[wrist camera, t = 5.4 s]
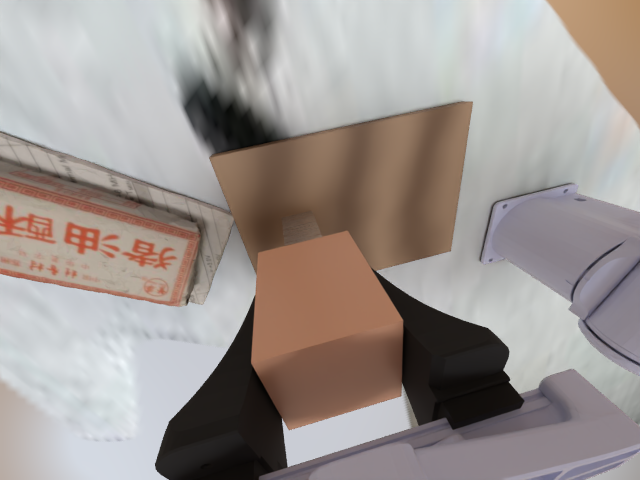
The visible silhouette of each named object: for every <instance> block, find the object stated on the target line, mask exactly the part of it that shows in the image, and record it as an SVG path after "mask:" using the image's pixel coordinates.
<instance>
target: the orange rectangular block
mask: <svg viewBox="0 0 640 480" xmlns="http://www.w3.org/2000/svg"><path fill="white" fill-rule="evenodd" d="M402 353H403V319H402V318H401V316H400V314H399V313H398V311H397V309H396V308H395V306H394V305H393V303H392V301H391V300H390V298H389V297H388V295H387V293H386V292H385V290H384V288H383V287H382V285H381V284H380V282H379V280H378V279H377V277H376V276H375V274H374V272H373V271H372V269H371V267H370V266H369V264H368V263H367V261H366V259H365V258H364V256H363V255H362V253H361V251H360V250H359V248H358V247H357V245H356V243H355V242H354V240H353V238H352V237H351V235H350V234H349V232H348V231H344V232H340V233H336V234H332V235H328V236H323V237H319V238H315V239H311V240H307V241H303V242H299V243H295V244H291V245H287V246H283V247H279V248H275V249H271V250H267V251H263V252H259V253H258V263H257V279H256V295H255V310H254V326H253V341H252V357H251V364H252V366H253V367H254V369H255V371H256V373H257V375H258V376H259V378H260V380H261V382H262V383H263V385H264V387H265V389H266V390H267V392H268V394H269V396H270V398H271V399H272V401H273V403H274V405H275V406H276V408H277V410H278V412H279V413H280V415H281V417H282V419H283V421H284V422H285V424H286V426H287V428H288V429H289V430H292V429H295V428H298V427H302V426H305V425H308V424H312V423H315V422H318V421H321V420H324V419H328V418H331V417H335V416H338V415H341V414H344V413H347V412H351V411H354V410H357V409H361V408H364V407H367V406H370V405H374V404H377V403H380V402H384V401H387V400H390V399H394V398H397V397H400V396H401V392H402Z"/></svg>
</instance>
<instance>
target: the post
mask: <svg viewBox="0 0 640 480" xmlns="http://www.w3.org/2000/svg"><path fill="white" fill-rule="evenodd" d="M282 225H283V234H284V243H285V246H287V245H291V244H295V243H299V242H303V241H307V240H311V239H315V238H319V237H322V235H321V232H320V230H319V227H318V225H317V222H316V220H315V217H314V215H313V212H312V211H308V212H304V213H300V214H295V215H291V216H287V217H283V218H282Z"/></svg>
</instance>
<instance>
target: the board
mask: <svg viewBox="0 0 640 480" xmlns="http://www.w3.org/2000/svg"><path fill="white" fill-rule="evenodd" d="M472 105H473V102H458V103H453V104H448V105H444V106H439V107H434V108H430V109H425V110H420V111H415V112H411V113H406V114H401V115H397V116H392V117H387V118H383V119H378V120H373V121H368V122H364V123H359V124H354V125H350V126H345V127H340V128H335V129H331V130H326V131H321V132H317V133H312V134H307V135H303V136H298V137H293V138H288V139H284V140H279V141H274V142H270V143H265V144H260V145H255V146H251V147H246V148H241V149H237V150H232V151H227V152H223V153H218V154H213V155H212V156H211V157H210V158H209V159H210V161H211V164H212V166H213V169H214V171H215V173H216V176H217V178H218V181H219V183H220V186H221V188H222V191H223V193H224V196H225V198H226V201H227V203H228V206H229V208H230V211H231V213H232V216H233V218H234V220H235V223H236V225H237V228H238V230H239V233H240V235H241V238H242V240H243V243H244V245H245V248H246V250H247V253H248V255H249V258H250V260H251V263H252V265H253V267H254V270H255V272H256V275H257V263H258V253H259V252H263V251H267V250H271V249H275V248H279V247H283V246H285V243H284V234H283V225H282V218H283V217H287V216H291V215H295V214H300V213H304V212H308V211H312V212H313V215H314V217H315V220H316V222H317V225H318V227H319V230H320V232H321V235H322V237H323V236H328V235H332V234H336V233H340V232H344V231H348V232H349V234H350V235H351V237H352V238H353V240H354V242H355V243H356V245H357V247H358V248H359V250H360V251H361V253H362V255H363V256H364V258H365V259H366V261H367V263H368V264H369V266H370V267H371V268H373V269H374V270H375V271H376V270H380V269H384V268H388V267H392V266H395V265H399V264H403V263H407V262H411V261H415V260H418V259H422V258H426V257H430V256H434V255H438V254H441V253H445V252H449V251H451V246H452V239H453V232H454V226H455V219H456V212H457V205H458V199H459V192H460V185H461V179H462V172H463V165H464V158H465V152H466V145H467V138H468V132H469V125H470V118H471V112H472Z"/></svg>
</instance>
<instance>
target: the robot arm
mask: <svg viewBox="0 0 640 480" xmlns="http://www.w3.org/2000/svg"><path fill="white" fill-rule="evenodd" d="M577 189H578V185H577V184H574V183H572V184H568V185H564V186H560V187H556V188H552V189H548V190H544V191H540V192H536V193H532V194H528V195H524V196H520V197H516V198H512V199H508V200H504V201H500V202H497V203H496V204H495V205H494V207H493V211H492V215H491V220H490V224H489V228H488V232H487V236H486V241H485V245H484V249H483V253H482V258H481V263H483V264H488V263H492V262H496V261H500V260H503V259H507V260H508V261H510V262H511V263H513V264H514V265H516V266H517V267H519V268H520V269H522V270H523V271H525V272H526V273H528V274H529V275H531V276H532V277H534V278H535V279H537V280H538V281H540V282H541V283H543V284H544V285H546V286H547V287H549V288H550V289H552V290H553V291H555V292H556V293H558V294H559V295H561V296H562V297H564V298H565V299H567V300H569V301H570V302H572V305H571V306H570V308H569V310H570V311H571V312H572V313H574V314H575V315H577V316H578V317H580V319H579V321H578V325H579V328H580V330H581V332H582V333H583V334H584V336H585V337H586V339H587V340H588V341H589V342H590V344H591V345H592V346H593V347H595V348H596V349H597V350H598V351H599V352H600V353H602V354H603V355H604V356H606V357H607V358H608V359H610V360H611V361H613V362H614V363H616V364H618V365H619V366H621V367H623V368H624V369H626V370H628V371H630V372H632V373H634V374H636V375H638V376H640V212H637V211H634V210H631V209H627V208H624V207H620V206H617V205H614V204H610V203H607V202H604V201H600V200H597V199H593V198H590V197H587V196H583V195H580V194H577V193H576V192H577ZM503 205H504V206H503ZM371 269H372V271H373V272H374V274H375V276H376V277H377V279H378V280H379V282H380V284H381V285H382V287H383V288H384V290H385V292H386V293H387V295H388V297H389V298H390V300H391V301H392V303H393V305H394V306H395V308H396V309H397V311H398V313H399V314H400V316H401V318H402V319H403V353H402V383H403V386H404V389H405V391H406V394H407V396H408V399H409V401H410V404H411V406H412V409H413V412H414V414H415V417H416V419H417V422H418V425H419V426H417V427H414V428H411V429H408V430H404V431H402V432H399V433H395V434H392V435H389V436H385V437H382V438H380V439H376V440H373V441H370V442H366V443H363V444H360V445H357V446H354V447H351V448H348V449H345V450H341V451H338V452H335V453H332V454H329V455H326V456H322V457H319V458H316V459H313V460H310V461H306V462H303V463H300V464H297V465H294V466H291V467H287V459H286V451H285V444H284V434H283V426H282V417H281V415H280V413H279V412H278V410H277V408H276V406H275V405H274V403H273V401H272V399H271V398H270V396H269V394H268V392H267V390H266V389H265V387H264V385H263V383H262V382H261V380H260V378H259V376H258V375H257V373H256V371H255V369H254V367H253V366H252V364H251V357H252V341H253V326H254V310H255V297H254V299H253V302H252V304H251V306H250V309H249V311H248V313H247V315H246V318H245V320H244V322H243V324H242V326H241V328H240V330H239V332H238V333H237V335H236V337H235V339H234V341H233V343H232V344H231V346H230V348H229V349H228V351H227V352H226V354H225V355H224V357H223V358H222V360H221V362H220V363H219V364H218V366H217V367H216V369H215V370H214V371H213V373H212V374H211V375H210V377H209V378H208V379H207V380H206V381H205V383H204V384H203V385H202V387H201V388H200V389H199V390H198V391H197V392H196V394H195V395H194V396H193V397H192V398H191V399H190V400H189V402H188V403H187V404H186V405H185V406H184V407H183V408H182V409H181V410H180V411H179V412H178V413H177V414H176V415H175V416H174V417H173V418H172V419H171V420H170V421H169V424H168V426H167V429H166V431H165V434H164V437H163V440H162V443H161V447H160V450H159V453H158V456H157V460H156V463H155V467H156V470H157V472H159V473H160V474H161V475H162V476H164V477H165V478H167V479H169V480H585V479H588V478H591V477H593V476H596V475H599V474H601V473H604V472H607V471H610V470H612V469H615V468H618V467H619V466H621V465H622V464H624V463H625V462H627V461H628V460H630V459H631V458H633V457H634V456H636V455H637V454H639V453H640V426H639V425H637V424H636V423H635V422H634V421H633V420H632V419H631V418H629V417H628V416H627V415H626V414H625V413H624V412H623V411H621V410H620V409H619V408H618V407H617V406H616V405H615V404H613V403H612V402H611V401H610V400H609V399H608V398H607V397H605V396H604V395H603V394H602V393H601V392H600V391H598V390H597V389H596V388H595V387H594V386H593V385H592V384H590V383H589V382H588V381H587V380H586V379H585V378H584V377H582V376H581V375H580V374H579V373H578V372H577V371H576V370H574V369H569V370H566V371H563V372H560V373H556V374H553V375H550V376H548V377H546V378H544V379H543V380H542V381H541V382H540V384H539V388H537V389H534V390H531V391H528V392H525V393H521V394H518V392H517V391H516V390H515V389H514V388H513V387H512V385H511V384H510V383H509V381H510V378H509V376H508V375H507V374H506V373H505V372H504V371H503V369H504V367H505V365H506V362H507V360H508V357H509V349H508V347H507V346H506V345H505V344H504V343H503V342H502V341H501V340H500V339H499V338H498V337H497V336H496V335H495V334H494V333H493V332H492V331H491V330H489V329H488V328H486V327H482V326H479V325H476V324H473V323H469V322H466V321H463V320H461V319H458V318H455V317H453V316H450V315H448V314H445V313H443V312H441V311H438V310H436V309H434V308H432V307H429V306H427V305H425V304H423V303H422V302H420V301H418V300H416V299H414V298H413V297H411V296H409V295H408V294H406V293H405V292H403V291H402V290H400V289H399V288H397V287H396V286H394V285H393V284H392V283H390V282H389V281H387V280H386V279H385V278H384V277H382V276H381V275H380V274H379V273H377V272H376V271H375V270H374V269H373V268H371Z"/></svg>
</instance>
